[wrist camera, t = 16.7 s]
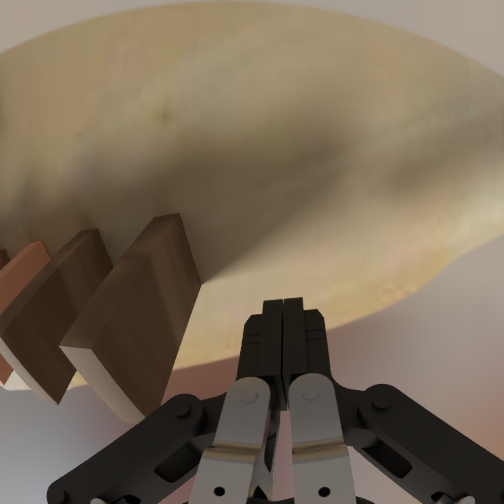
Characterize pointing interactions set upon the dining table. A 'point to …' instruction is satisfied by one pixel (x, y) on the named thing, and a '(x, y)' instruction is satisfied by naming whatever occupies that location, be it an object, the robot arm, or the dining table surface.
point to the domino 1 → (19, 284)
